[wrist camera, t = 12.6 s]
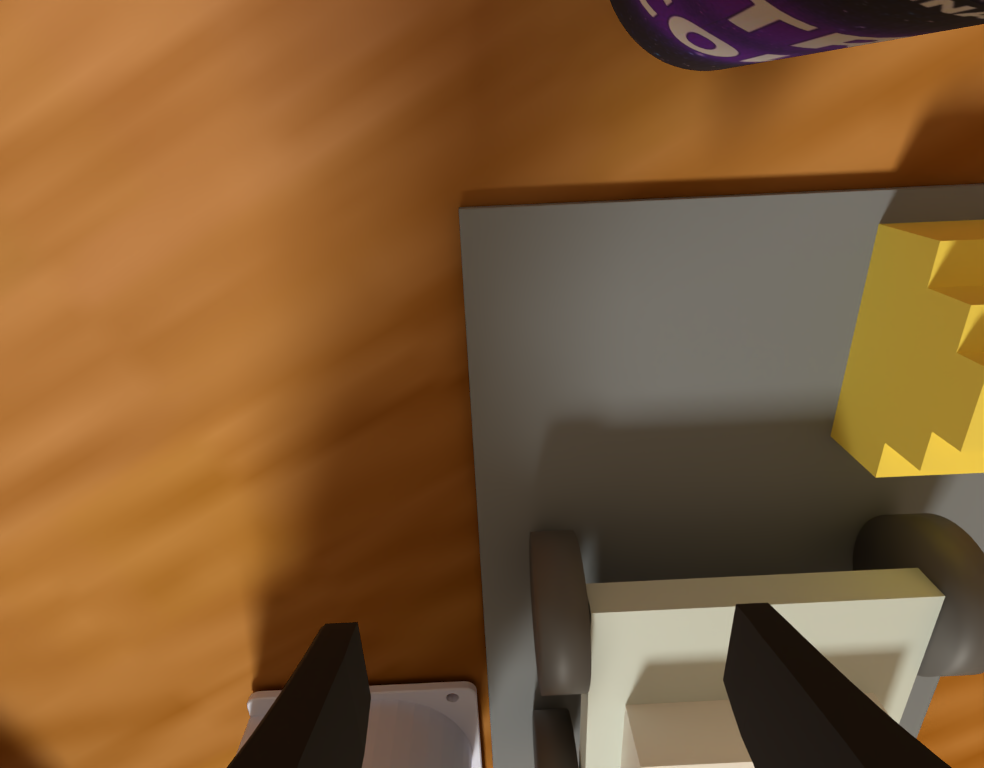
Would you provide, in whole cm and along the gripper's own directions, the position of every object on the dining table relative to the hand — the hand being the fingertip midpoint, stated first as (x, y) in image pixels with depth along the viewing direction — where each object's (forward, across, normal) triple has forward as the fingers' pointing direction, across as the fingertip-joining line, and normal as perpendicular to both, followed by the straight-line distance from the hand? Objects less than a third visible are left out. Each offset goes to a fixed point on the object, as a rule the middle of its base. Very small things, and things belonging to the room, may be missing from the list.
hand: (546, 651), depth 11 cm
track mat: (+9, -8, +6) cm, 14 cm away
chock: (+9, -13, -3) cm, 16 cm away
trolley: (+9, -7, +10) cm, 15 cm away
